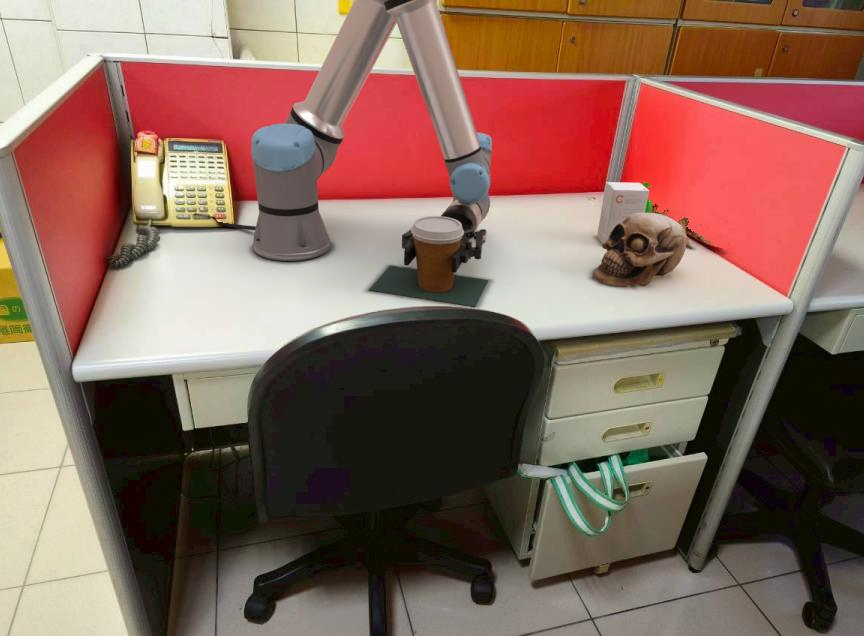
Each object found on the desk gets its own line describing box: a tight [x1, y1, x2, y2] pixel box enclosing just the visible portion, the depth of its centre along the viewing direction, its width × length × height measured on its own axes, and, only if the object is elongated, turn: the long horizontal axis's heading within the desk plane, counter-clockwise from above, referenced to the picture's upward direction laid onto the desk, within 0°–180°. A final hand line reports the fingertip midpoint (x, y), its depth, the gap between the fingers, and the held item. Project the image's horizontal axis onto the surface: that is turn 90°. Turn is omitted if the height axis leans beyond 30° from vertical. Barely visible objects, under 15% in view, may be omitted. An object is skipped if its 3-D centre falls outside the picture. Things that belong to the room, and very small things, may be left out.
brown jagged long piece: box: [678, 217, 718, 249], centre depth 147 cm, size 9×5×18 cm
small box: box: [596, 181, 650, 245], centre depth 141 cm, size 8×6×13 cm
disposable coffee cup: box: [410, 215, 464, 292], centre depth 115 cm, size 10×10×12 cm
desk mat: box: [368, 265, 489, 308], centre depth 118 cm, size 20×12×1 cm, turn 77°
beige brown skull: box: [592, 212, 687, 287], centre depth 126 cm, size 16×17×13 cm
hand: (429, 261), depth 111 cm, fingers closed on disposable coffee cup, 8 cm apart
